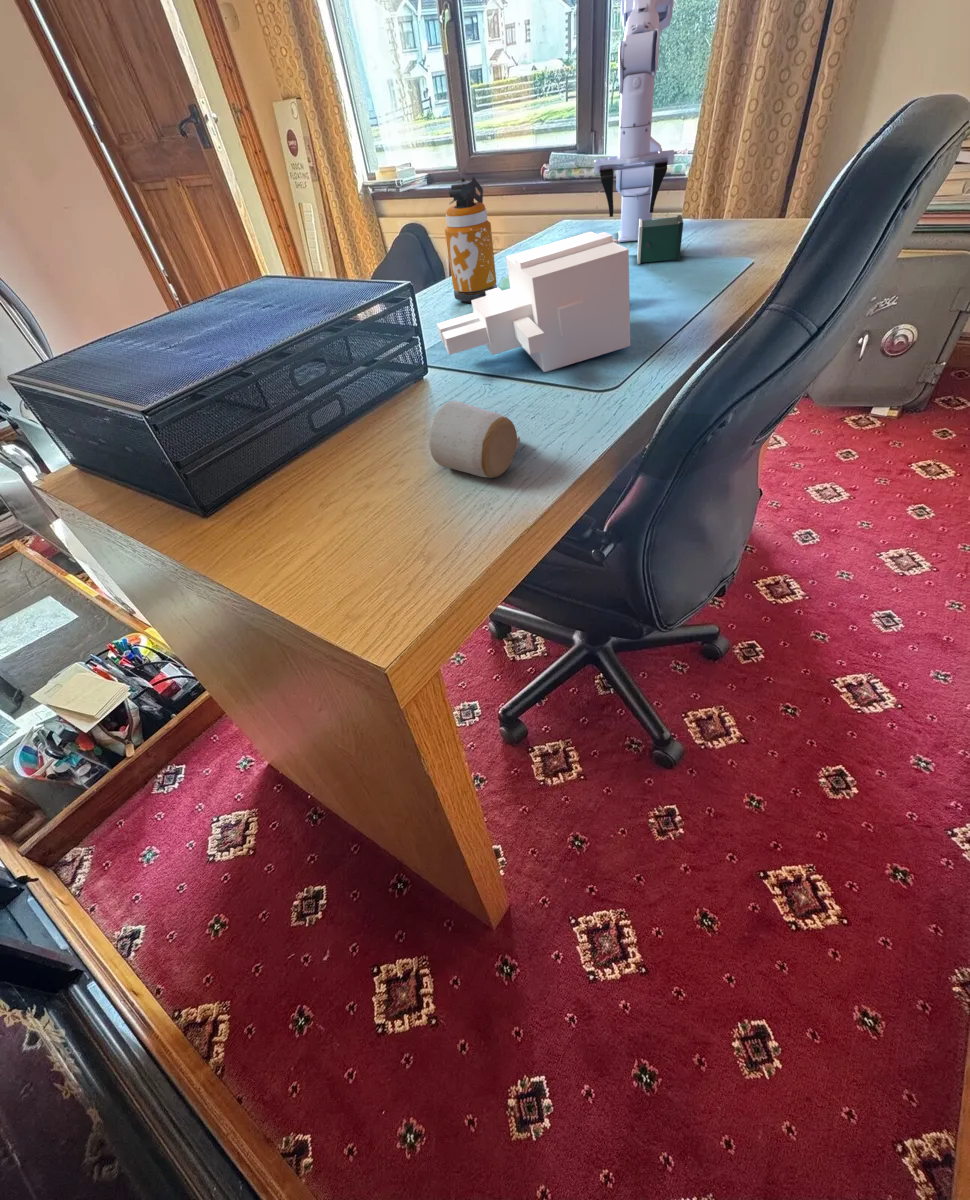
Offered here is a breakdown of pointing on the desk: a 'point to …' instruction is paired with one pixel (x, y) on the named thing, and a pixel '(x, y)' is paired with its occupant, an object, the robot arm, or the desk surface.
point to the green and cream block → (659, 239)
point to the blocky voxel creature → (553, 304)
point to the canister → (469, 243)
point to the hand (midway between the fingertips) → (631, 213)
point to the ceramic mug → (472, 439)
